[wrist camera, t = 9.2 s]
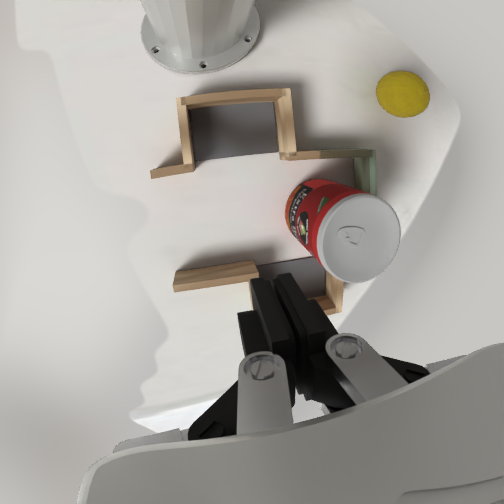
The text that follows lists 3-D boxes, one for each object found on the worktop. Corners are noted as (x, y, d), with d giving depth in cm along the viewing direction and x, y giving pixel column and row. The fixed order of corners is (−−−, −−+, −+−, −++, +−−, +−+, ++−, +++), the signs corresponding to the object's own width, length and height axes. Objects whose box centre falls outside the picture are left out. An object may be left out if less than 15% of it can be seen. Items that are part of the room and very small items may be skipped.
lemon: (406, 104, 28) (448, 100, 21) (383, 127, 29) (425, 126, 22) (381, 69, 26) (422, 57, 19) (356, 91, 27) (396, 80, 20)
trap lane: (149, 109, 25) (142, 104, 22) (354, 96, 27) (370, 92, 24) (188, 322, 34) (187, 339, 31) (356, 292, 37) (369, 305, 33)
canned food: (283, 177, 30) (322, 193, 19) (348, 179, 31) (407, 196, 21) (281, 244, 32) (315, 289, 22) (343, 241, 33) (394, 279, 23)
